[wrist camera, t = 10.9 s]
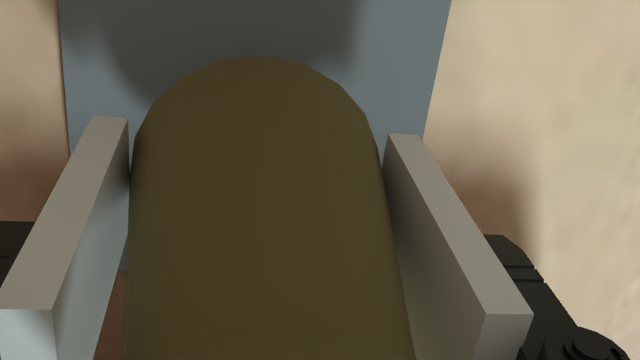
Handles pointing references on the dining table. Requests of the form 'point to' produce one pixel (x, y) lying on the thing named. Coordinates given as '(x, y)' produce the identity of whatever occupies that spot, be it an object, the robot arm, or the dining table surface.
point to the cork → (260, 223)
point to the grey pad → (250, 53)
